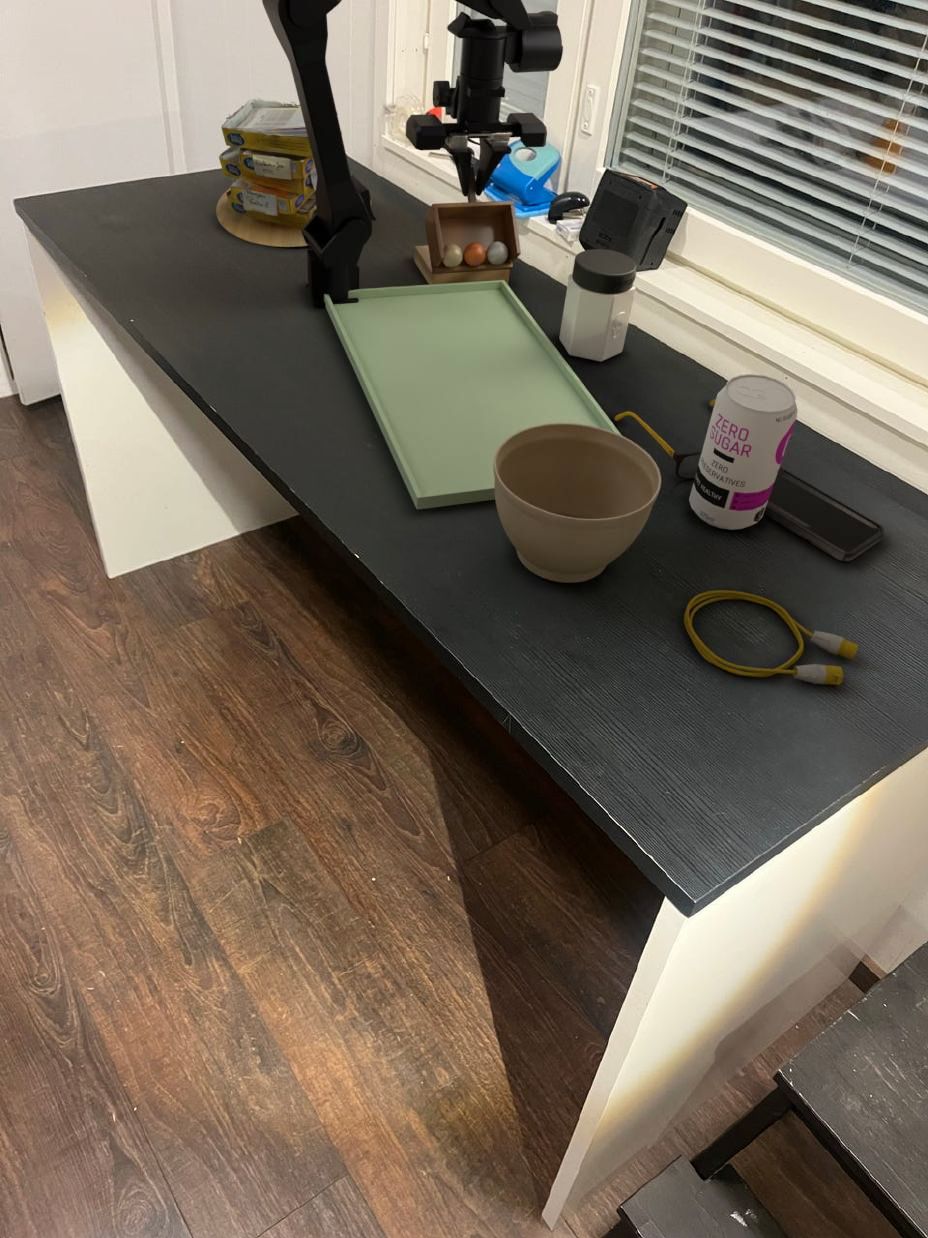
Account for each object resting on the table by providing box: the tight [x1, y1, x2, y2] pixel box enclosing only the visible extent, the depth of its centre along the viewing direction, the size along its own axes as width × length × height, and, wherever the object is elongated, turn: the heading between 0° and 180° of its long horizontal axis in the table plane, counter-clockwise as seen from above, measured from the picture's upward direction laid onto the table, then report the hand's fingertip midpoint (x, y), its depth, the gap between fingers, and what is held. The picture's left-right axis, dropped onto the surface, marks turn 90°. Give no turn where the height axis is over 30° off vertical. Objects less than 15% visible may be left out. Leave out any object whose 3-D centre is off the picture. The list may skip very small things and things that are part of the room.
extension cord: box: [683, 589, 859, 686], centre depth 90 cm, size 12×16×2 cm
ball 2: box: [464, 243, 486, 266], centre depth 138 cm, size 3×3×3 cm
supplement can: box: [688, 373, 799, 531], centre depth 101 cm, size 8×8×15 cm
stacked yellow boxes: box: [215, 97, 343, 248], centre depth 150 cm, size 25×25×17 cm
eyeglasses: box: [614, 398, 716, 480], centre depth 114 cm, size 14×14×4 cm
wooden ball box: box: [423, 166, 522, 274], centre depth 138 cm, size 12×13×5 cm
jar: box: [558, 248, 638, 363], centre depth 128 cm, size 9×8×12 cm
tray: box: [324, 280, 623, 510], centre depth 122 cm, size 27×49×2 cm, turn 18°
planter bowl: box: [493, 423, 662, 584], centre depth 95 cm, size 16×16×11 cm
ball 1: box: [442, 244, 463, 268], centre depth 137 cm, size 3×3×3 cm
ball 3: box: [486, 242, 508, 265], centre depth 139 cm, size 3×3×3 cm
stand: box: [413, 244, 511, 286], centre depth 145 cm, size 12×10×2 cm
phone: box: [763, 466, 885, 563], centre depth 106 cm, size 8×1×15 cm
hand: (471, 194), depth 136 cm, fingers closed on wooden ball box, 2 cm apart
